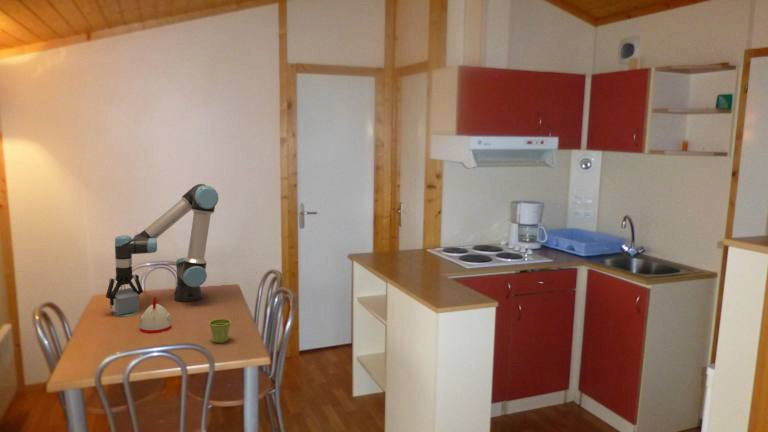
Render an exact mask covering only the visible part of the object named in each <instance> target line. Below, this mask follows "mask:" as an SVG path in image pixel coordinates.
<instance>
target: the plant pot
mask: <svg viewBox="0 0 768 432" xmlns="http://www.w3.org/2000/svg"><path fill="white" fill-rule="evenodd" d="M231 323H232V321H231V319H227V318H216V319H212V320H210V321H208V325H209V326H210V329H211V334H212V340H213V341H212V342H213V343H219V344H222V343H226V342H227V341H228V339H229V332H230V331H229V330H230V326H231Z"/></svg>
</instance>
